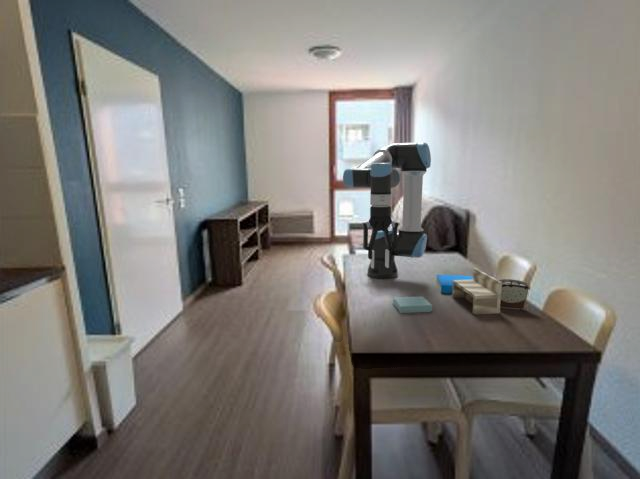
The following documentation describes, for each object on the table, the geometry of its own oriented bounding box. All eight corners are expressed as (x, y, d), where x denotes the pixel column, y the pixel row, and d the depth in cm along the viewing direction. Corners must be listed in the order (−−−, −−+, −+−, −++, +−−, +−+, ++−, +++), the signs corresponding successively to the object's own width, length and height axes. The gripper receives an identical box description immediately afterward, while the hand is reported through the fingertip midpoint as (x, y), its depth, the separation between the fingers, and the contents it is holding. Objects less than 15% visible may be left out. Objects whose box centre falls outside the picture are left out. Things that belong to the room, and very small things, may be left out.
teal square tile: (393, 304, 154) (393, 297, 153) (422, 303, 155) (422, 296, 154) (400, 314, 144) (400, 306, 143) (431, 312, 145) (431, 305, 144)
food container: (525, 304, 150) (527, 280, 148) (528, 310, 145) (530, 284, 143) (491, 301, 154) (493, 277, 152) (492, 306, 149) (494, 282, 147)
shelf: (452, 296, 161) (453, 269, 158) (474, 295, 161) (476, 268, 159) (474, 314, 141) (476, 283, 139) (499, 313, 142) (502, 282, 140)
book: (435, 274, 181) (492, 275, 177) (435, 283, 182) (491, 284, 178) (441, 285, 164) (503, 286, 160) (440, 295, 165) (502, 296, 161)
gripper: (358, 207, 136) (358, 270, 141) (407, 206, 138) (405, 268, 142) (354, 205, 144) (354, 265, 148) (401, 204, 145) (399, 263, 149)
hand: (379, 267), depth 145 cm, fingers open, 5 cm apart
